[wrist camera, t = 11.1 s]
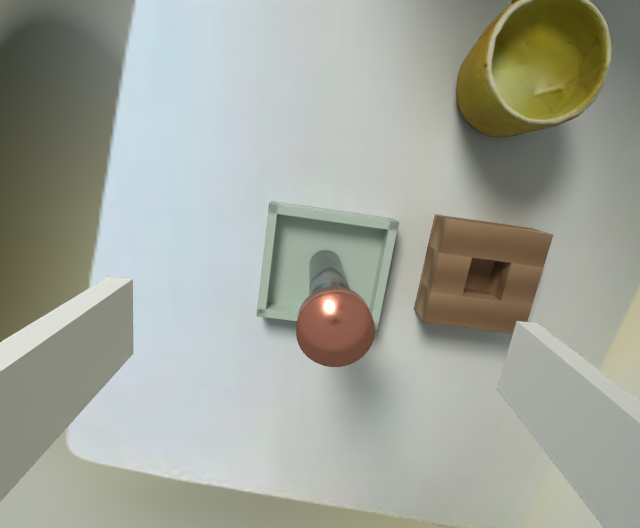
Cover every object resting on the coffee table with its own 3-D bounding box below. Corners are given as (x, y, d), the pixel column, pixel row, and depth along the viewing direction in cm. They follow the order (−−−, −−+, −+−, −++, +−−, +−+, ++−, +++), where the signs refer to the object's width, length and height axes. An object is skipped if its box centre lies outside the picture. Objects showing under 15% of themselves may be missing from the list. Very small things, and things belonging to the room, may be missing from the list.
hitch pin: (298, 285, 39) (291, 362, 24) (304, 238, 38) (301, 289, 23) (345, 291, 39) (367, 371, 24) (353, 245, 38) (381, 299, 23)
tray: (271, 201, 37) (269, 203, 35) (393, 218, 38) (398, 222, 36) (259, 307, 40) (256, 316, 38) (373, 321, 41) (377, 331, 39)
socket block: (434, 214, 38) (447, 219, 35) (531, 228, 39) (553, 234, 35) (414, 308, 41) (423, 322, 37) (505, 320, 41) (523, 334, 38)
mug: (559, 159, 35) (612, 121, 26) (443, 146, 38) (452, 107, 28) (589, 23, 35) (654, -69, 25) (469, 19, 37) (486, -67, 28)
